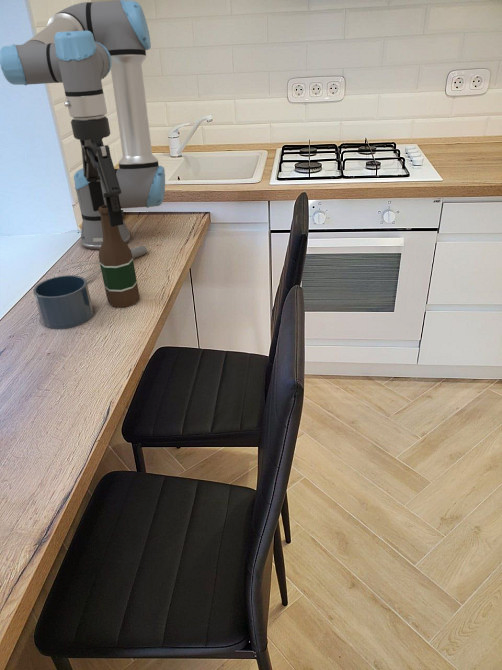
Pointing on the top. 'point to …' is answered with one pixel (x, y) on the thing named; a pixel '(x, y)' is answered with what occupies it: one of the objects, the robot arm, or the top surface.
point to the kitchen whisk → (135, 253)
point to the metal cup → (63, 301)
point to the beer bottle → (117, 265)
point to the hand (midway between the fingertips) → (107, 217)
